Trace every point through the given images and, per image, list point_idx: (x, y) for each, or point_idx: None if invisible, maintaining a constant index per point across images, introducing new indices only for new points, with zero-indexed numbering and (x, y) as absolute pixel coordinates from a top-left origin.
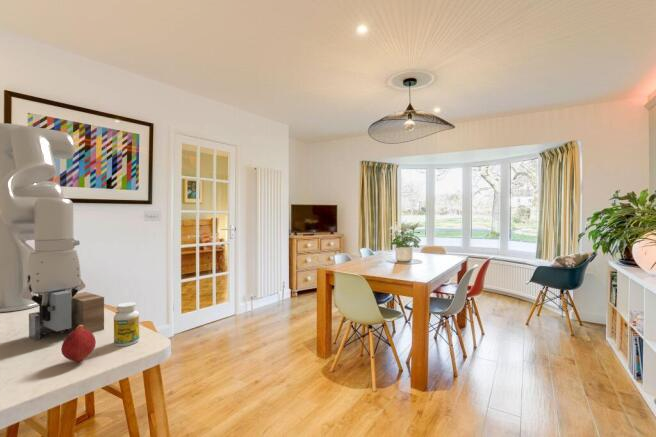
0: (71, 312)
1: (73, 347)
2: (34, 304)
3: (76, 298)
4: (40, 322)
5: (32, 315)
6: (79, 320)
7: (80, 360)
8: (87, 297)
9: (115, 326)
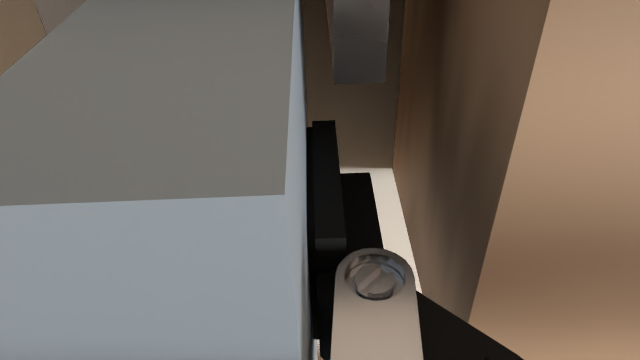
0: (442, 69)
1: None
2: None
3: (502, 268)
4: None
5: (41, 14)
6: (414, 187)
7: None
8: (593, 311)
9: None
